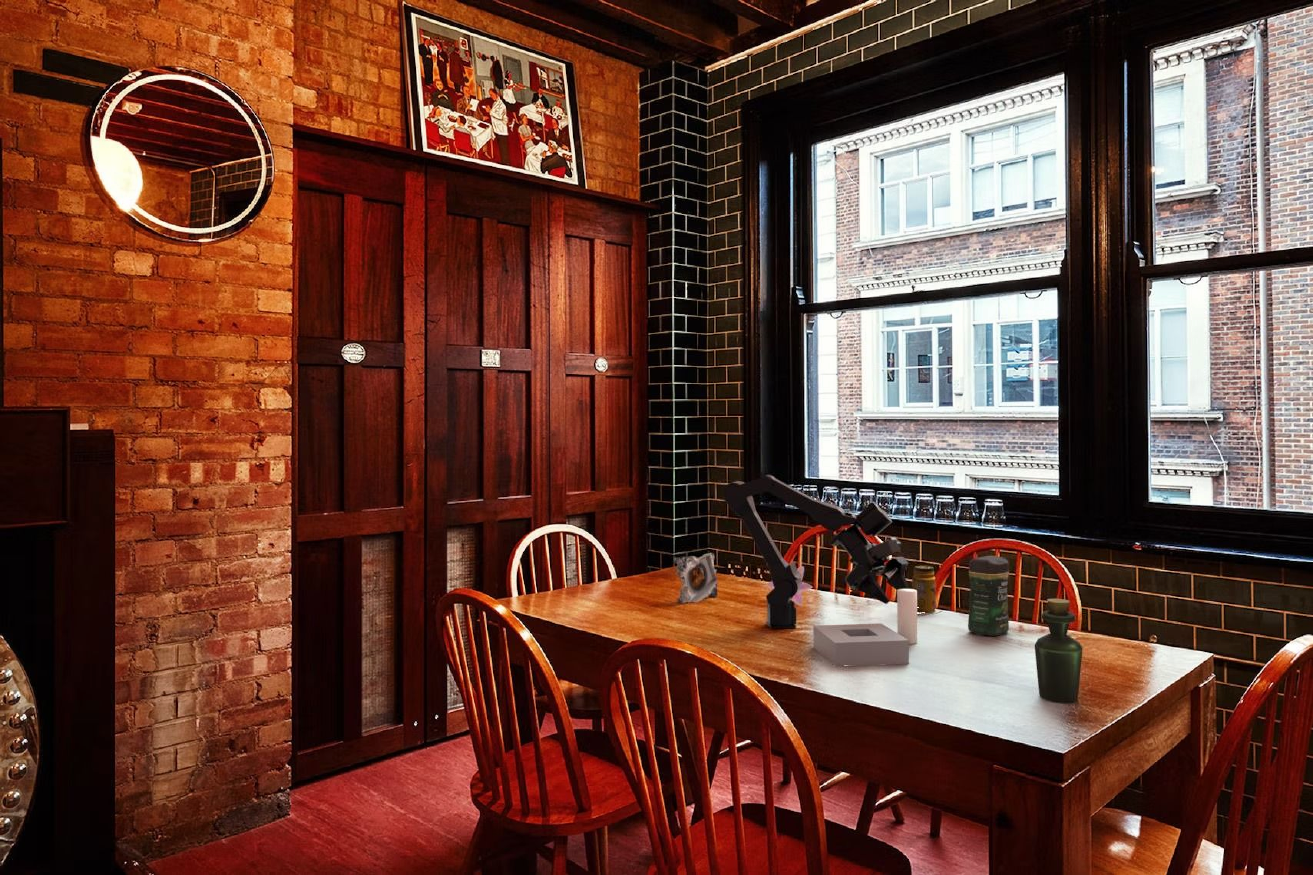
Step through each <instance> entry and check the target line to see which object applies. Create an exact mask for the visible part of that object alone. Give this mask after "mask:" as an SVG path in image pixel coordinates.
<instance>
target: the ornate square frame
mask: <svg viewBox="0 0 1313 875" xmlns="http://www.w3.org/2000/svg"><path fill="white" fill-rule="evenodd" d="M714 560H715V554H714V553H713V552H710V553H704V554H703V555H702V556H700V557H697V556H694V555H690V556H676V557H673V561H674V563H675V564H676V565H677V566H676V572H677V575H678V577H679V578H680V580H681V583H682V586H681V588H680V590H678V592H679V595H678V596H679V597H678V598H677V604H682V603H683V604H685V603H690V602H695V603H698V602H700V601H702V600H704V599H707V598H710V597H709V596H711V597H713V596H716V597H718V578H717V576H716V575H717V574H716V573H717V569H715V566H714Z"/></svg>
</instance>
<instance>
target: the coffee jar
mask: <svg viewBox="0 0 1313 875" xmlns="http://www.w3.org/2000/svg"><path fill="white" fill-rule="evenodd" d="M1009 564H1010V563H1009V561H1008V559H1006V557H1004V556H997V555H986V556H980V557H975V558H972V559H971V560H970V561H969V564H968V576H969V584H970V585H969V605H968V606H969V608H968V622H967V623H968V624H967V630H968V631H969V632H972V633H974V635H977V636H991V637H993V636H999V635H1003V634H1006V633H1008V632H1009V631H1010V630H1009V628H1010V625H1009V624H1010V622H1009V609H1008V608H1009V605H1008V604H1009V603H1008V600H1009V599H1008V584H1009V583H1008V581H1009V576H1010V568H1009Z"/></svg>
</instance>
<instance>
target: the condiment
mask: <svg viewBox="0 0 1313 875" xmlns="http://www.w3.org/2000/svg"><path fill="white" fill-rule="evenodd" d="M911 579H912V580H911V584H912V588H911V589H913V590H917V607H919V608H917V612H925V613H921V614H919V615H921V616H923V615H929V614H935V613H941V612H940V611H941V610H940V611H938V610H939V609H936V602H937V601H936V597H937V596H936V594H937V593H936V592H937V591H936V577H935V568H934V567H933V566H931V565H916V566H914V567H913V576H912V577H911Z"/></svg>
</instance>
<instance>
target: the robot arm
mask: <svg viewBox="0 0 1313 875" xmlns="http://www.w3.org/2000/svg"><path fill="white" fill-rule="evenodd" d="M762 493H768V494H770V495H772V496H773V497H776V498H777V499H779V500H782V501H783V502H785V503H787V504H788V505H791V506H793V508H796V509H798V510H800V511H802V512H804V513H805V514H807V515H808V516H809V517H810V518H811V519H813V520H814V521H815V523H817V524H818V525H820V526H821V527H822V528H824V529H825V530H826V531H829V532H835V531H839V530H840V529H841V531H839V532H838V533H837V534H832V533H831V538H830V541H829V542H830V545H831V546H834V547H838V546H839V545H841V546H842V548H844V550H845V551H846V553H847V554H848V555H849V556H850V559H849V562H850V564H855V566H854V567H853V568H852V569H851V570H850V572H849V573H847V575H845V583H846V584H847V585H848V587H849V588H850V589H853V588H854V590H856V591H857V590H858V591H860V592H862V593H864V594H866V595H868V596H870V597H871V598H873V599H876V600H877V601H879V602H881V603H883V604H885V605H888V604H889V603H890V599H889V598H888V596H887V594H886V593H885V591H884V589H883V588H882V586H881V585H880V584H879V582H878V579H877V576H879V575H880V576H881V577H882V578H883V579H884V580H886V581H885V582H886V583H887V584H888V585H889V586H891V587H892V588H893V589H895V591H897V590H898V589H910V587H909V585H908V582H907V579H906V576H905V574H906V570H907V569H908V565H909V561H907V560H906V558H905V557H904V556H895V557H891V558H889V556H893V555H894V554H900V553H901V549H902V542H901V541H899V540H898V539H897V538H896V537H895V536H892V537H890V538H887V539H886V540H885V541H883V542H880V543H879V544H877V543H870V542H869V540H868V539H867V538H866V536H867V537H870V536H873V537H876V536H877V535H878V534H880V533H881V532H882V531H884V529H886V528H887V527H888V526H890V525H891V524H892V523H893V521H892V519H891V518H890V516H889V515H888V514H887V512H886V511H885V510H884V509H882V508H880V506H878V505H877V504H876V502H874V501H871V502H870V503H869V504H868V505H867V506H866V507H865V508H863V509H862V510H861V512H859V513H858V514H856V513H851V512H846V511H845V510H844V509H843V508H842V507H840V506H839V505H836V504H833V503H830V502H825V501H821V500H818V499H815V498H813V497H811V496H809V495H807V494H805V493H803V492H802V491H800V490H798V489H795V488H794V487H792V486H790V485H788V484H786V483H785V482H783V481H781V480H779V479H778V478H776V477H775V476H773V475H771V474H766V475H764V476H762V477H760V478H757V479H753V480H750V481H747V482H744V481H741V480H740V481H739V480H736V481H733V482H729V483H728V484H726V485H725V486H724V488H723V491H722V498H723V500H724V501H725V503H726V504H727V505H728V507H729V508H730V509H731V511H733V513H735V514H736V515H737V516H738V517H739V518H740V519H741V521H742V522H743V524H744V526H745V528H746V529H747V531H748V533H749V535H750V536H751V538H752V540H753V541H754V544H755V545H756V547H757V549H758V550H759V553H760V555H761V556H762V558H763V559H764V561H765V563H766V564H767V566H768V570H769V573H770V574H769V575H770V579H771V581H772V582H773V585H774V589H771V591H770V592H769V593H768V594H767V595H765V598H766V606H767V607H766V611H767V612H766V615H767V616H766V617H767V618H766V619H767V620H766V621H765V624H766V626H768V627H769V628H770V629H772V630H773V629H796V628H797V625H796V624H797V607H795V602H794V601H792V600H791V599H792V598H793V596H794V595H795V594H796V593H797V592H798V591H799V589H800V588H801V584H802V582H803V580H802V581H801V578H800V577H801V576H802V574H800V573H799V572H798V570H797V569H798V568H797V565H796V564H795V562H794V561H791V563H789V562H787V561H786V560H785V559H784V558H783V556H782V554H781V553H780V551H779V549H778V547H777V545H776V544H775V541H774V540H773V538H772V537H771V535H770V533H769V531H768V530H767V527H766V526H765V524H764V522H763V520H762V519H761V517H760V516H759V514H758V512H757V510H756V505H755V501H754V498H753V496H755V495H759V494H762ZM842 527H844V528H843V529H842ZM864 534H865V535H864Z"/></svg>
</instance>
